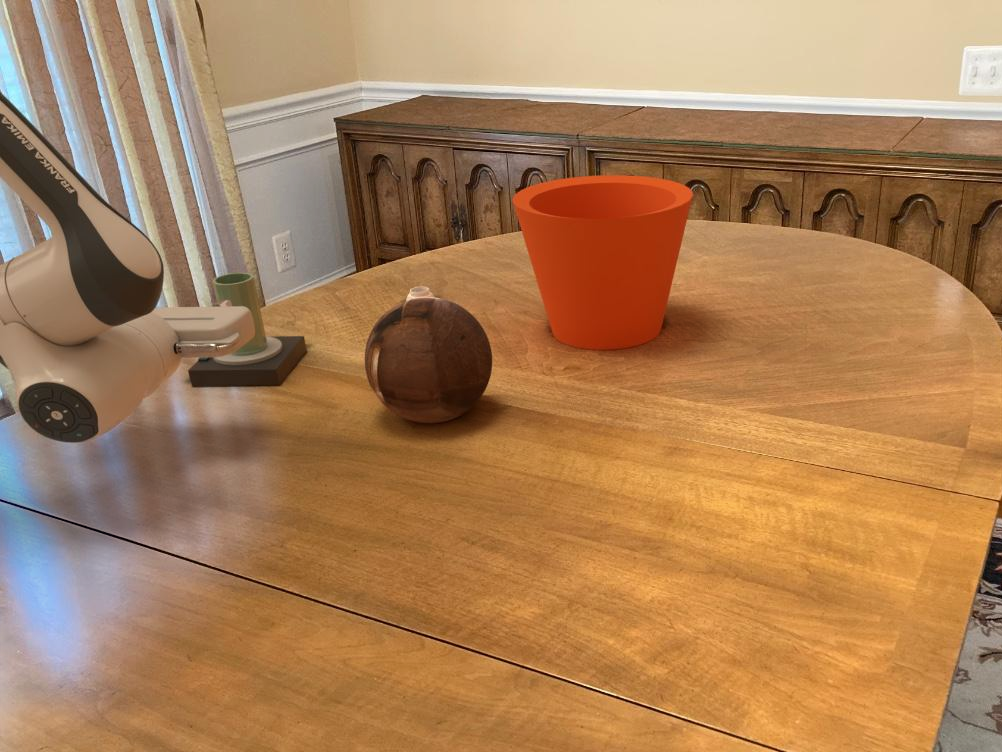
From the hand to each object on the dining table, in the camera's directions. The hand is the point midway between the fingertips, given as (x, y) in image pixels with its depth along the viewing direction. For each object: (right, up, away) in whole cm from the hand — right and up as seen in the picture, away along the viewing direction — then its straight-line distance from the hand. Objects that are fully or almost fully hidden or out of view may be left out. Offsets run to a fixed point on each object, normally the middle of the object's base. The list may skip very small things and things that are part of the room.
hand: (187, 306), depth 117 cm
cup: (+1, -3, +17) cm, 17 cm away
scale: (+1, -6, +18) cm, 19 cm away
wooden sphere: (+29, -13, +3) cm, 32 cm away
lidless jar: (+21, +5, +39) cm, 44 cm away
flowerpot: (+51, 0, +27) cm, 58 cm away
